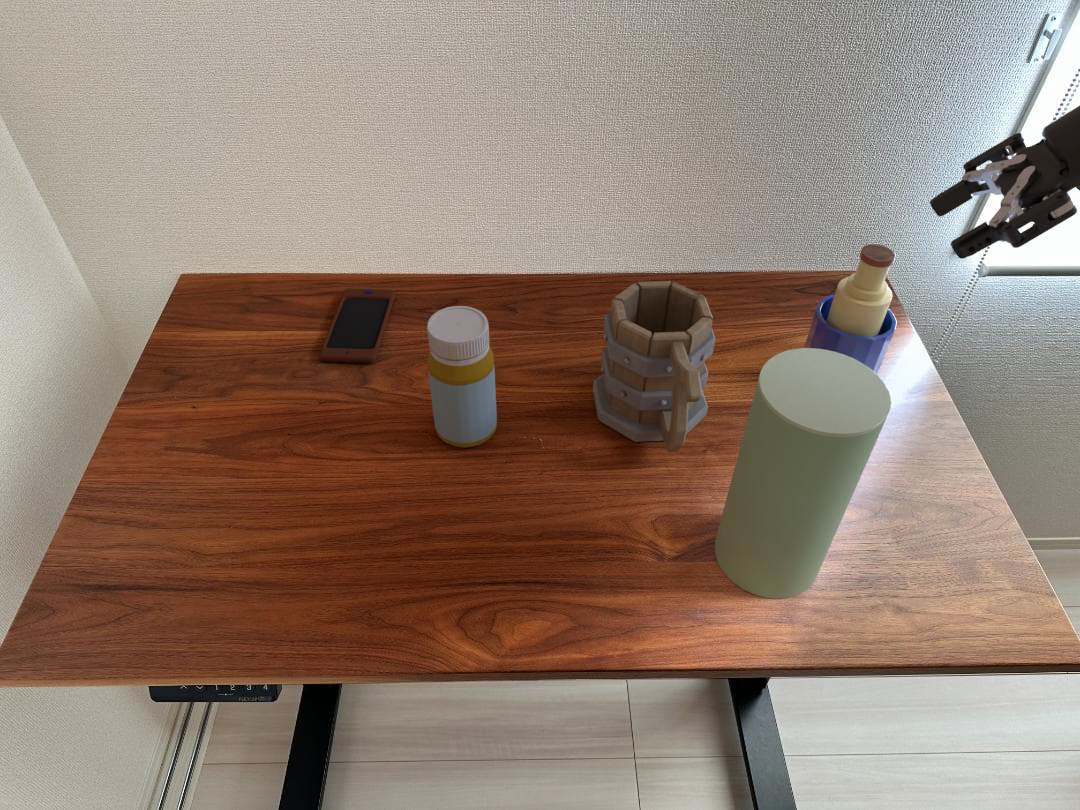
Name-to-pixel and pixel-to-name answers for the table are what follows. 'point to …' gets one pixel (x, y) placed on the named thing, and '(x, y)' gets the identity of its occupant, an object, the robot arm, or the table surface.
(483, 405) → the bottle
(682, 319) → the tankard
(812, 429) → the green stand
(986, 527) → the table surface
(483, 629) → the table surface
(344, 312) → the smartphone
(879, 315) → the cream bottle
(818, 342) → the blue cup
